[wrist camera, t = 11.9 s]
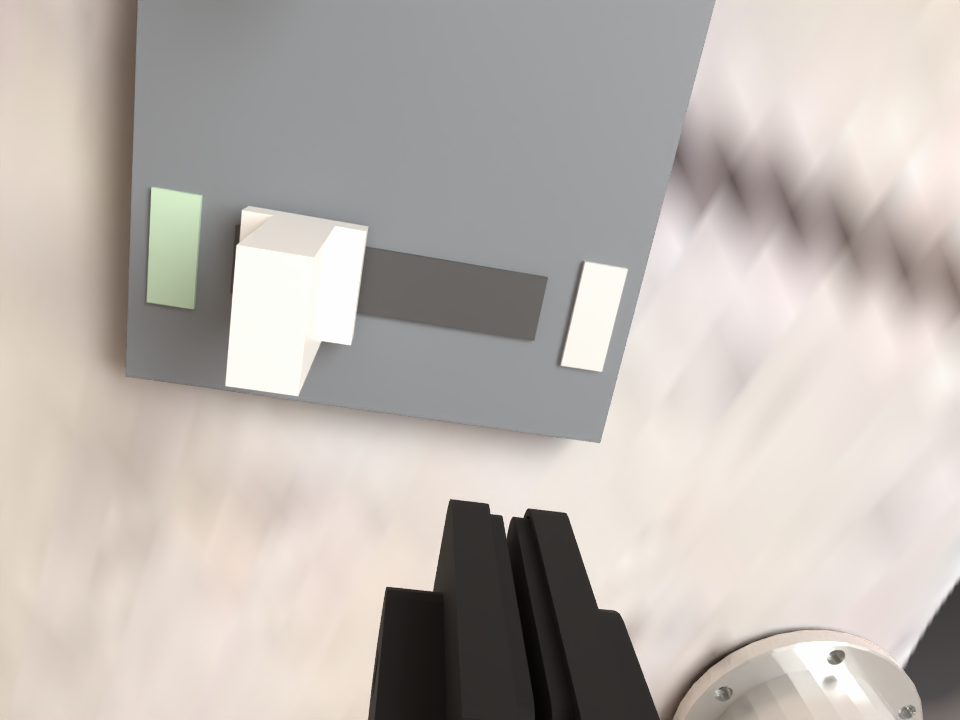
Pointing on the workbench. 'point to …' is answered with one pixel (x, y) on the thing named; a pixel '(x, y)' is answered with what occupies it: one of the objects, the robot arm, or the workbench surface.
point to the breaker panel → (414, 189)
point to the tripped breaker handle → (290, 296)
